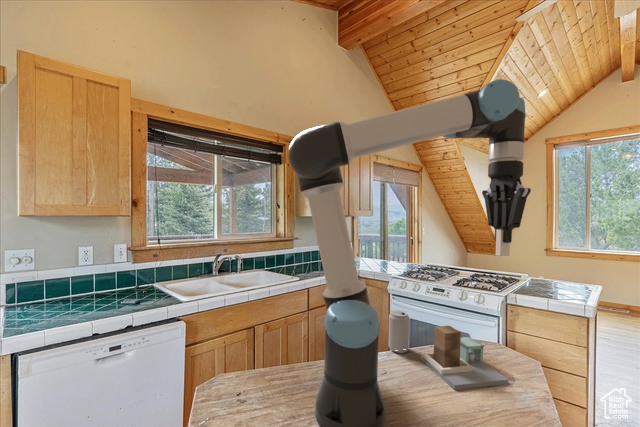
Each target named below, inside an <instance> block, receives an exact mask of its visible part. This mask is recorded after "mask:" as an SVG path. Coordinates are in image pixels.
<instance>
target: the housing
mask: <svg viewBox="0 0 640 427" xmlns="http://www.w3.org/2000/svg"><path fill="white" fill-rule="evenodd" d="M469 352H470V353H473V354H475V357H474V358H475V359H477V360H478V361H480V362H483V361H484V345H483V344H482V343H480V342H478V341H477V340H475V339H474V338H472V337H470V336H465V337H464V336H463V337H462V336H461V341H460V358H461V359H463V360H464V361H465V362H467V363H468V362H469Z"/></svg>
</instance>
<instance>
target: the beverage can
mask: <svg viewBox="0 0 640 427" xmlns="http://www.w3.org/2000/svg"><path fill="white" fill-rule="evenodd" d="M387 345H388V348H389V349H390V350H391V351H392V352H394V353H397V354H404V353H406V352H407V351H409V348H410V317H409V313H408V312H407V311H405V310H399V309H397V310H396V309H395V310H394V309H393V310H390V314H389V315H388V344H387ZM403 349H406V350H403ZM395 350H398V351H395Z"/></svg>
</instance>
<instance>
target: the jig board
mask: <svg viewBox="0 0 640 427" xmlns="http://www.w3.org/2000/svg"><path fill="white" fill-rule="evenodd" d="M474 357H475V354H473V353H470V352H469V362H468V363H467V362H465V361H464V360H463V359H461V358H460V366H459V367H448V368H443V367H442V366H440V365H439V364H438V363H437V362H436V361H435V360H434V351H432V352H422V354H421V355H420V359H421V361H422V362H424V363H425V364H426V365H427V366H428V367H429V368H430V369H431V370H432V371H433V372H435V373H436V375H438V377H440V378H441V379H442V380H443V381H444V382H445V383H446V384H448V386H450V388H452V389H453V390H454V391H457V390H465V389H466V390H467V389H475V388H484V387H493V386H501V385H502V386H503V385H504V386H505V385H508V384H509V378H507V377H506V376H504V375H503V374H501V373H500V372H498V371H497V370H495V369H494V368H492V367H491V366H490V365H488V364H487V363H485V362H480V361H478V360H477V359H475V358H474Z"/></svg>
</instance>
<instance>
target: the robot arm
mask: <svg viewBox="0 0 640 427" xmlns="http://www.w3.org/2000/svg"><path fill="white" fill-rule="evenodd" d="M526 117H527V115H526V103H525V99H523V97H520V92H519V89H518V87H517V86H516V84H514V83H513V82H512V81H510V80H508V79H502V78H500V79H499V78H498V79H494V80H492V81H490V82H489V83H486V84H485V85H483V86H482V87H481V88H479V89H477V90H474V91H473V90H472V91H469V92H466V93H462V94H459V95H455V96H454V95H453V96H451V97H447V98H443V99H438V100H435V101H431V102H427V103H423V104H420V105H416V106H411V107H408V108H403V109H400V110H396V111H393V112H389V113H385V114H380V115H377V116H376V115H375V116H373V117H368V118H365V119H361V120H356V121H353V122H349V123H345V122H343V121H342V120H337V121H333V122H329V123H325V124H321V125H318V126H315V127H310V128H308V129H305V130H303V131H301V132H300V133H298V134H297V135H296V136H295V137H294V138H293V139H292V141H291V142H290V145H289V146H288V152H287V158H288V159H287V160H288V163H289V165H290V168H291V170H293V171H294V172H295V174H296V178H297V181H298V182H297V183H298V187H299V191H300V194H301V195H302V196H304V197H306V199H307V201H308V204H309V210H310V215H311V218H312V220H311V221H312V224H313V229H314V232H315V237H316V242H317V246H318V250H319V251H318V252H319V255H320V260H321V265H322V269H323V274H324V279H325V282H326V287H325V289H324V291H323V292H322V296H323V300H324V301H323V302H324V305H325V310H326V313H325V317H324V331H325V332H324V336H325V337H324V366H323V367H324V368H323V374H324V375H323V379H322V382H321V384H320V387H319V391H318V393H317V396H316V397H315V398H316V399H315V410H314V411H315V418H316V420H317V422H318V423H319V425H320V427H383V426H384V423H385V416H386V415H385V414H386V411H385V404H384V400H383V395H382V393H381V389H380V387H379V382H378V368H379V367H378V366H379V362H378V361H379V333H380V327H381V326H380V320H379V318H380V317H379V314H378V311H377V310H376V308H374V307H373V305H371V303H370V299H369V294H368V290H367V285H366V283H364V282H363V281H361V280H360V279H359V275H358V270H357V266H356V262H355V257H354V252H353V248H352V243H351V240H350V239H351V238H350V234H349V229H348V225H347V220H346V216H345V210H344V206H343V202H342V198H341V194H340V191H341V189H342V187H343V186H344V180H343V176H342V170H341V167H344V166H347V165H351V164H352V162H353V160H354V159H357V158H361V157H365V156H369V155H372V154H375V153H376V154H377V153H380V152H385V151H388V150H391V149H392V150H393V149H396V148H401V147H403V146H407V145H412V144H416V143H419V142H423V141H424V142H425V141H427V140H428V141H429V140H432V139H435V138H439V137H443V138H444V139H445V138H446V139H454V140H456V139H488V142H489V143H488V159H487V160H488V162H489V163H488V168H487V176H488V178H489V179H490V183H489V188H488V189H486V190H482V192H481V195H482V196H483V199H484V203H485V209H486V217H487V224H488V227H492V228H493V229H494V242H495V256H498V257H510V253H511V252H510V251H511V250H510V248H511V247H510V246H511V243H512V238H513V237H512V236H513V235H512V233H513V230H514V229H517V228H520V227H521V223H522V219H523V214H524V211H525V207H526V204H527V203H526V202H527V198H528V197H529V195H530V193H531V192H532V191H531V190H532V189H531V188H530V187H525V186H523V185H522V184H523V183H522V180H521V177H523V175H524V162H523V161H522V160H524V155H525V153H524V151H525V150H524V149H525V125H526V124H525V123H526Z"/></svg>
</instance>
